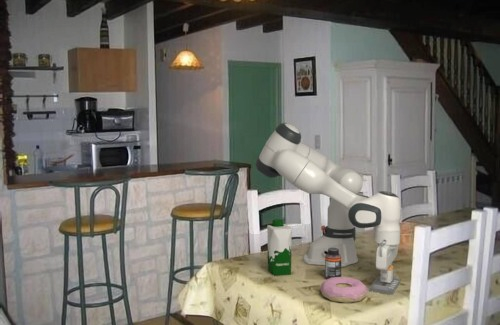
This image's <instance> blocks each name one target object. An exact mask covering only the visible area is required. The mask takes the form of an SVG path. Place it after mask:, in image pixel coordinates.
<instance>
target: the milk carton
mask: <svg viewBox="0 0 500 325" xmlns="http://www.w3.org/2000/svg"><path fill="white" fill-rule="evenodd" d="M266 228H267V229H266V230H267V231H266V232H267V233H266V234H267V270H268V272H269V273H270V274H271V275H272V276H273V275H274V276H273V277H277V276H278V277H279V276H287V275H292V237H293V236H292V233H293V228H292V227H291V226H289V225H288V224H285V223H284V220H283V219H278V218H277V219H273V220H272V224H269V225H268V224H267V227H266Z"/></svg>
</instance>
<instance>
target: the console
mask: <svg viewBox="0 0 500 325" xmlns="http://www.w3.org/2000/svg"><path fill="white" fill-rule="evenodd" d="M400 283H401V279H400V278H397V275H394V274H393V280H392V281H391V283H388V282H381V281H380V275H378V276H377V277H376V278H375V280H374V281H373V282H372V283H371V285H370V286H369V287H368V292H372V291H373V293H374V292H375V293H378V292H379V294H386V295H394V293H395V291H396V290H397V288H398V287H399V285H400Z"/></svg>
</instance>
